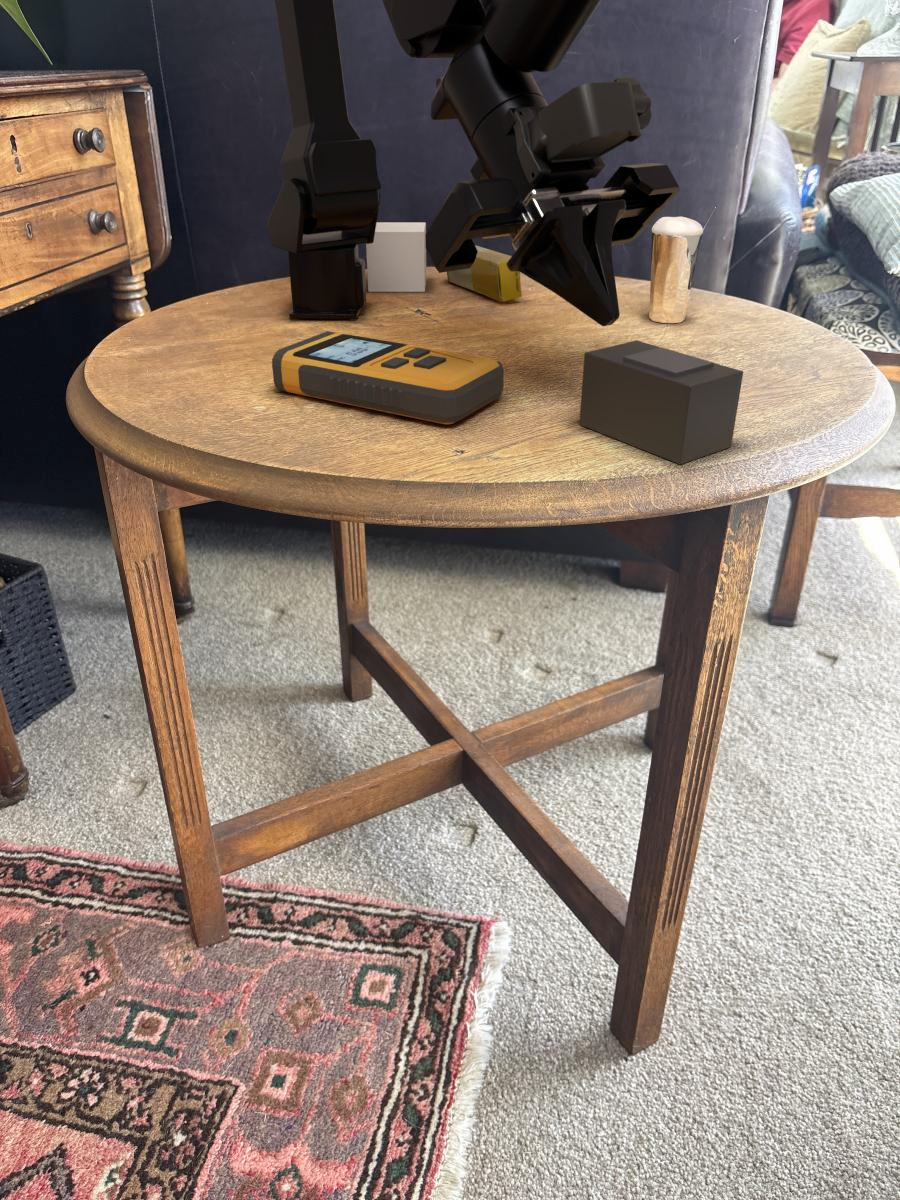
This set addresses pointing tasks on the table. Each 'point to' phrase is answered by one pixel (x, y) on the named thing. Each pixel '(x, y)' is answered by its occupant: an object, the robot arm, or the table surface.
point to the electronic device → (388, 376)
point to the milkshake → (673, 266)
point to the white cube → (397, 257)
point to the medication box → (489, 276)
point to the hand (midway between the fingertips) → (611, 322)
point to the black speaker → (660, 400)
